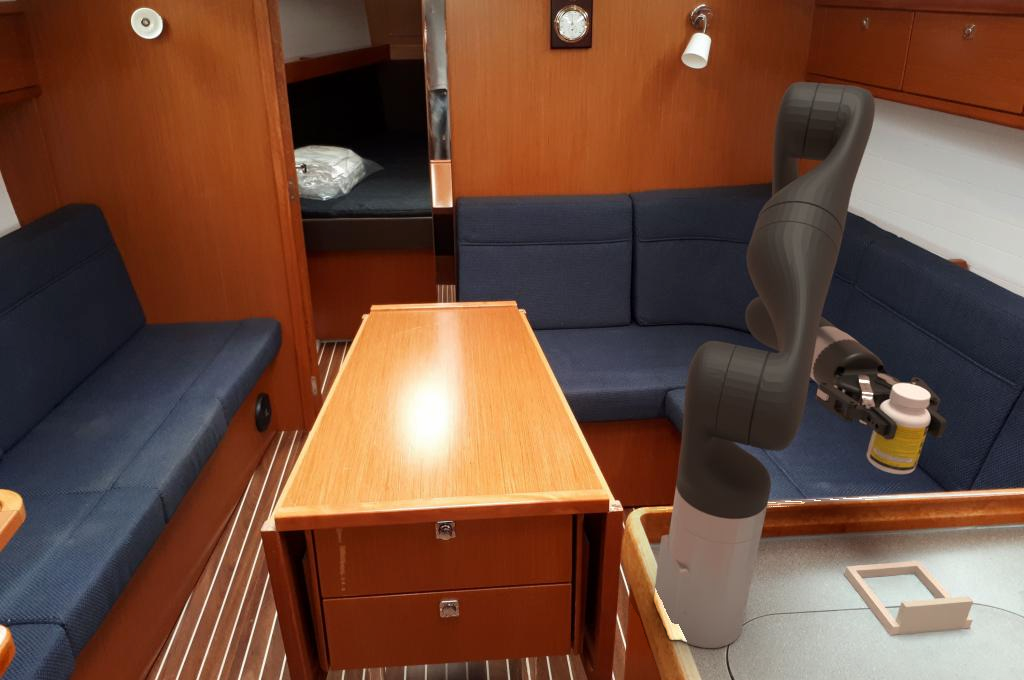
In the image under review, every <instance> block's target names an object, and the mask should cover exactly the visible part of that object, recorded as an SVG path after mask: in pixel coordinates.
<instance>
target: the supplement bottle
mask: <svg viewBox="0 0 1024 680" xmlns="http://www.w3.org/2000/svg"><path fill="white" fill-rule="evenodd" d="M908 383H909V382H903V383H898V384H895V385H893V387H892V390H891V393H890V399H888V400H886V401H884V402H883V403H882V404H881V405H880V409H881V410H882V411H883V412H885V413H886V414H887V415H888V416H889V417H890V418H891V419H893V420H894V421H895V422H896V424H897V430H896V433H895V437H894V439H889V440H886V439H885V438H884V437H882V436H881V435H879V434H877V433H876V432H875V431H874V430H873V429H872V433H871V435H870V441H869V443H868V447H867V451H866V459H867V460H868V461H869V463H870V464H872V465H873V466H874V467H875V468H876V469H879V470H881V471H883V472H885V473H886V472H887V473H890V474H894V475H908V474H910V473H913V472H914V471H915V469H917V468H916V467H917V465H918V462H919V458H920V455H921V453H922V449H923V446H924V442H925V440H926V438H927V437H926V436H927V432H928V431H927V430H928V427H929V424H930V420H931V417H930V414H929V412H928V410H927V409H926V408H927V406H928V404H929V400H930V397H931V395H930V393H929V392H928V391H927V390H925V389H924V388H922V387H919V386H917V385H913V384H908Z"/></svg>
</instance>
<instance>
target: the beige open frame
mask: <svg viewBox="0 0 1024 680" xmlns="http://www.w3.org/2000/svg"><path fill="white" fill-rule="evenodd" d="M911 574H912V575H913V574H914V575H915V576H916V578H918V579H919V580H920V582H921V583H923V585H924V586H925V587H926V588H927V589H928V590H929V592H930V594H932V595H933V596H934V597H935V598H930V599H927V598H926V599H918V600H916V599H915V600H906V601H901V602H900V605H899V608H898V612H897V615H896V618H894V616H892V615H891V613H890V611H888V609H887V608H886V607H885V606H884V604H883V603H882V602H881V600H880V599H879V598H878V597H877V595H876V594H875V593H874V592H873V590H872V589H871V588H870V586H869V585H868V584H867V583H866V582H865V580H864V579H865V578H874V577H887V576H898V575H899V576H900V575H911ZM843 575H844V576H845V577H846V578H847V580H848V581H849V583H850V584H851V586H852V587H853V588H854V589H855V591H856V592H857V593H858V595H859V596H860V598H862V599H863V601H864V602H865V603H866V605H867V607H869V609H870V610H871V611H872V613H873V614H874V615H875V617H876V618H877V619H878V621H879V622H880V623H881V625H882V626H883V627H884V628H885V629H886V631H887V633H888V634H889V635H890V636H893V635H894V636H895V635H896V636H897V635H905V634H907V635H908V634H916V633H917V634H918V633H928V632H938V631H949V630H952V631H953V630H961V629H970V628H971V625H972V623H973V618H971V616H970V615H969V614H970V612H971V609H972V606H973V604H974V600H973V599H972V598H971V597H970V596H969V595H965V596H962V595H961V596H952V595H951V594H950V593H949V592H948V591H947V590H946V589H945V588H944V586H942V584H941V583H940V582H939V581H938V580H937V579H936V578H935V576H933V574H931V573H930V572H929V570H928V569H927V568H926V567H925V566H924V565H923V564H922V562H920V561H919V560H915V561H914V560H912V561H911V560H910V561H900V562H898V561H897V562H889V563H887V562H886V563H877V564H876V563H874V564H861V565H850V566H849V565H848V566H845V569H844V573H843ZM863 578H864V579H863Z"/></svg>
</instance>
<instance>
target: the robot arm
mask: <svg viewBox="0 0 1024 680" xmlns="http://www.w3.org/2000/svg"><path fill="white" fill-rule="evenodd" d="M875 109H876V103H875V99H874V96H873V94H872V92H871V91H870V90H868V89H866V88H863V87H861V86H856V85H849V84H848V85H845V84H835V83H824V82H823V83H822V82H820V83H819V82H812V81H811V82H810V81H808V82H807V81H798V82H794V83H792V84H790V85H789V86H788V87H787V89H786V90H785V92H784V93H783V96H782V98H781V101H780V103H779V108H778V111H777V116H776V120H775V121H776V122H775V126H774V136H773V137H774V138H773V150H772V151H773V153H772V155H773V156H772V181H771V182H772V183H771V184H772V190H771V195H772V196H771V197H770V198H769V200H767V202H766V203H765V204H764V205H763V207H762V208H761V210H760V211H759V214H758V217H757V220H756V223H755V225H754V229H753V232H752V235H751V238H750V241H749V243H748V246H747V250H746V251H747V252H746V266H747V267H746V268H747V270H748V273H749V276H750V279H751V282H752V284H753V286H754V288H755V290H756V293H757V294H758V295H759V296H758V297H755V298H754V299H752V300H751V301H750V302H749V304H748V305H747V307H746V310H745V314H744V315H745V316H744V317H745V323H746V326H747V329H748V330H749V332H750V333H751V335H752V336H753V337H754V339H756V340H757V341H758V342H760V343H762V344H763V345H765V346H767V347H769V348H771V349H773V350H776V351H778V352H772V351H767V350H763V349H757V348H754V347H753V348H752V347H748V346H744V345H743V346H742V345H736V344H732V343H728V342H723V341H719V340H718V341H715V340H709V341H706V342H704V343H703V344H701V345H700V346H699V347H698V349H697V350H696V352H695V354H694V356H693V358H692V359H691V363H690V366H689V370H688V372H687V373H688V374H687V378H686V383H685V390H684V393H685V394H684V402H683V404H684V405H683V418H682V430H681V432H682V433H681V440H680V441H681V442H680V450H679V457H678V459H679V460H678V467H677V469H678V470H677V475H676V483H675V492H674V496H673V497H674V499H673V505H672V512H671V519H670V526H669V532H668V534H664V535H661V537H660V538H661V539H660V546H659V553H658V562H657V568H656V573H655V574H656V575H655V583H654V589H655V588H656V590H657V593H658V595H659V597H660V599H661V600H662V602H663V605H664V608H665V609H666V612H667V614H668V616H669V618H670V620H671V622H672V623H674V624H679V626H680V628H681V630H682V632H683V634H684V636H685V638H686V640H687V642H688V643H687V644H688V645H691V646H695V647H700V648H704V649H716V648H717V649H718V648H723V647H725V646H729V645H730V644H732V643H734V642H735V641H736V640H737V639H738V638H739V636H740V634H741V633H742V629H743V625H744V620H745V617H746V613H747V611H746V610H747V606H748V601H749V596H750V591H751V586H752V582H753V575H754V570H755V566H756V562H757V561H756V560H757V557H758V552H759V548H760V542H761V538H762V537H761V536H762V532H763V528H764V527H763V526H764V523H765V518H766V514H767V508H768V505H769V500H770V494H771V488H772V480H771V476H770V473H769V470H768V469H767V467H766V466H765V465H764V464H763V463H762V462H761V461H760V460H759V459H758V458H757V457H755V456H754V455H753V454H752V453H750V452H749V451H747V450H745V449H744V448H742V447H741V446H739V445H738V444H741V445H745V446H750V447H753V448H756V449H762V450H766V451H771V452H772V451H773V452H780V451H785V449H787V448H788V447H789V446H790V445H791V444H792V443H793V441H794V439H795V437H796V436H797V433H798V431H799V428H800V425H801V423H802V419H803V416H804V411H805V408H806V402H807V398H808V392H809V385H810V380H811V379H812V380H813V381H814V382H815V383H816V384H817V385H818V388H817V392H816V395H815V401H816V402H817V403H819V404H820V405H821V406H822V407H825V408H826V409H827V410H828V411H830V412H832V413H833V414H834V415H835V416H837V417H838V418H840V419H841V420H842V421H844V422H846V423H853V422H854V420H857V421H858V420H859V423H861V424H863V425H868V426H869V427H870V429H872V431H873V430H874V431H875V432H876V433H877V434H879V435H881V436H882V437H884V438H885V439H886V440H889V439H894V437H895V433H896V430H897V424H896V422H895V421H894V420H893V419H891V418H890V417H889V416H888V415H887V414H886V413H885V412H883V411H882V410H881V409H880V405H881V404H882V403H883V402H884V401H886V400H888V399H890V393H891V390H892V387H893V385H895V384H898V383H904V382H901V381H900V379H898V378H896V377H894V376H891V375H890V374H888V373H887V372H886V369H885V366H884V364H883V361H882V360H881V359H880V357H878V356H877V355H875V353H873V352H872V351H871V350H869V349H868V348H867V347H866V346H864V345H863V344H862V343H860V342H859V341H857V340H856V339H855V338H854V337H852V336H851V335H849V334H848V333H847V332H844V331H842V330H840V329H839V328H838V327H836V326H835V325H834V324H832V323H831V322H830V321H829V320H828V319H826V318H824V317H823V316H822V315H823V309H824V306H825V302H826V297H827V296H828V292H829V290H830V289H829V288H830V286H831V281H832V278H833V275H834V271H835V267H836V264H837V261H838V257H839V254H840V250H841V244H842V241H843V236H844V232H845V231H844V230H845V226H846V221H847V217H848V216H847V215H848V211H849V205H850V201H851V196H852V192H853V188H854V184H855V180H856V179H857V178H856V177H857V174H858V171H859V168H860V166H861V163H862V160H863V157H864V154H865V152H866V148H867V145H868V144H869V143H868V142H869V140H870V135H871V134H872V129H873V124H874V119H875V113H876V112H875V111H876V110H875ZM799 159H800V160H810V161H818V162H820V163H819V164H818V165H817V166H816V167H814V168H813V169H811V170H808V171H807V172H806V173H804V174H802V175H801V176H800V172H799ZM907 383H908V384H913V385H917V386H919V387H922V388H924V389H925V390H927V391H928V392H929V393H930V395H931V397H930V400H929V404H928V406H927V408H926V409H927V410H928V412H929V414H930V417H931V420H930V424H929V427H928V430H927V432H928V433H929V434H930V435H931V436H933V437H934V438H942V437H943V436H944V434H945V431H946V427H947V423H948V421H947V420H946V418H944V417H943V416H942V415H941V414H939V412H937V410H938V407H939V404H940V402H941V399H940V397H939V396H938V395H937V394H936V393H935V392H934V391H933V390H932V389H931V388H930V386H929V385H928V384H927V383H926V382H925V381H924V380H923V378H919V377H917V376H915V377H912V378H911V381H910V382H907ZM843 405H844V408H843Z"/></svg>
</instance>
